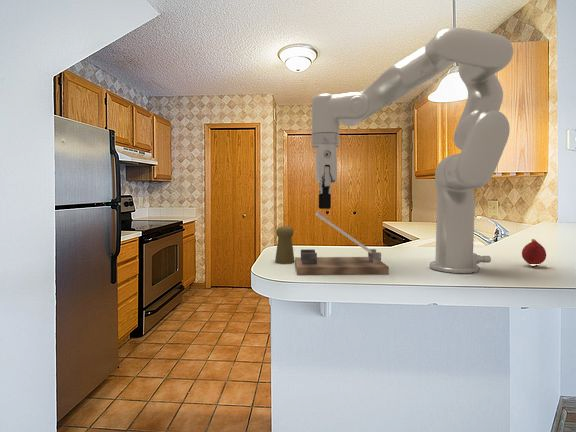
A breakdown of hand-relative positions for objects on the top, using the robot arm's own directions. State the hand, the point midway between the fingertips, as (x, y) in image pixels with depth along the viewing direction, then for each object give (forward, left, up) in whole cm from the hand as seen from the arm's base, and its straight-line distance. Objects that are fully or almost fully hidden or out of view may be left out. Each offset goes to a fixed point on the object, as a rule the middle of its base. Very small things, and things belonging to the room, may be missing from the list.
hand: (324, 208), depth 102 cm
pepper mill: (+11, -10, -17) cm, 23 cm away
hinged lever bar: (-6, 0, -8) cm, 10 cm away
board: (-4, 0, -17) cm, 17 cm away
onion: (-60, -1, -17) cm, 62 cm away
